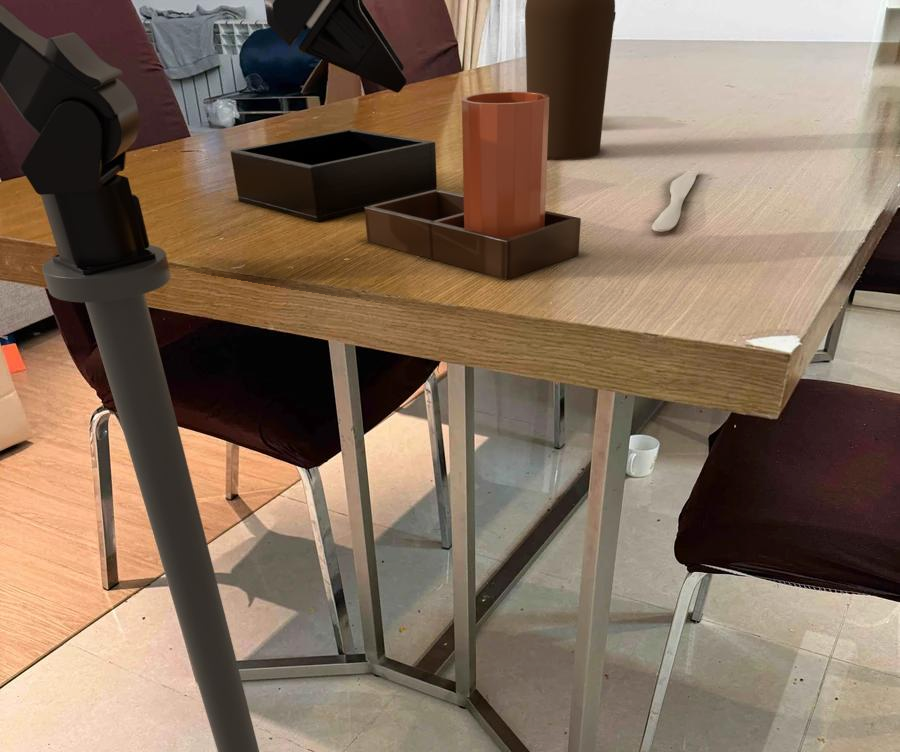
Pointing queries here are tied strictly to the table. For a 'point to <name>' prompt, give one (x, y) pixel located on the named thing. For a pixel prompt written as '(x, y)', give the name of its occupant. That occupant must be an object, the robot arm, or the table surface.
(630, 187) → the table surface
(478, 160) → the cup
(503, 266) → the brown divided tray
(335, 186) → the black open box
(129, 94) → the robot arm
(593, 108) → the dark brown cylinder
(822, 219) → the table surface
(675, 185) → the butter knife
